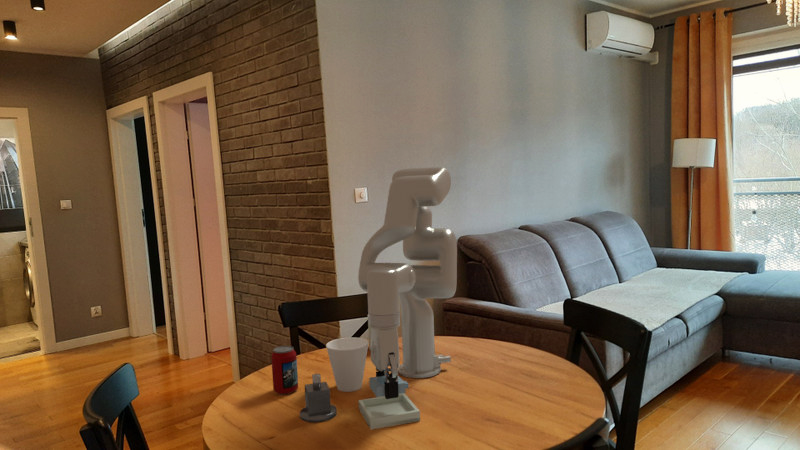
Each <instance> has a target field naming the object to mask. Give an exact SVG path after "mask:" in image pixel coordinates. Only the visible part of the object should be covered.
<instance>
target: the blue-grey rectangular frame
mask: <svg viewBox="0 0 800 450" xmlns="http://www.w3.org/2000/svg"><path fill="white" fill-rule="evenodd" d="M388 376H389V375H388ZM368 380H369V383H368V384H369V388H370V389H371V391H372V393H373V394H374V396H375V398H376V397H382V396H385V386H384V382H386V380H385V376H379V377H376V376H373V377H369V379H368ZM409 387H410V385H409V382H407V380H403V379H402V378H401V377H400V376H399V375H398V393H399V394H402V393H405V394H406V393H407V392H406V390H407V389H409Z"/></svg>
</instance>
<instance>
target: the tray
mask: <svg viewBox="0 0 800 450" xmlns="http://www.w3.org/2000/svg"><path fill="white" fill-rule="evenodd" d="M358 410H359V413H360V414H361V416H362V417H363V419H364V420H365V422H366V424H367V426H368V428H369V429H370V430H375V429H376V430H377V429H382V428H387V427H394V426H399V425H405V424H410V423H417V422H421V411H420V409H419V408H418V407H417V406H416V405H415V403H414V402H413V401H412V400H411V398H409V396H408V395H407V394H406V393H402V394H399V396H398V397H397V398H391V399H386V398H385V396H382V397H376V396H375V397H371V398H365V399H359V400H358Z"/></svg>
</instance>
